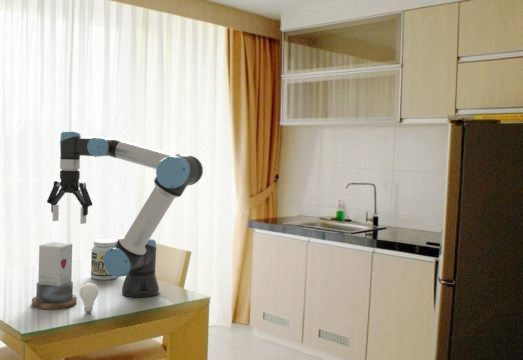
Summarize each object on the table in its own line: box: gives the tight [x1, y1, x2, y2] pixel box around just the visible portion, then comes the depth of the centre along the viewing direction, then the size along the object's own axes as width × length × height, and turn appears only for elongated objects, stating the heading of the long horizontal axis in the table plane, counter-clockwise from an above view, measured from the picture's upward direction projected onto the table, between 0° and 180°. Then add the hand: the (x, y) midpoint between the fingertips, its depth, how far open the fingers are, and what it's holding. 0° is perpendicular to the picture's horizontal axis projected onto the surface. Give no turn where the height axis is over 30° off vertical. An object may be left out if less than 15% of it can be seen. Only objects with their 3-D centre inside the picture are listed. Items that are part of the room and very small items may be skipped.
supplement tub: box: [90, 238, 118, 281], centre depth 262 cm, size 12×12×17 cm
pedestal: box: [31, 280, 78, 311], centre depth 218 cm, size 16×16×8 cm
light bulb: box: [79, 282, 99, 314], centre depth 209 cm, size 7×7×11 cm
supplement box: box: [37, 241, 73, 287], centre depth 218 cm, size 9×9×15 cm
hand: (69, 222), depth 232 cm, fingers open, 13 cm apart
